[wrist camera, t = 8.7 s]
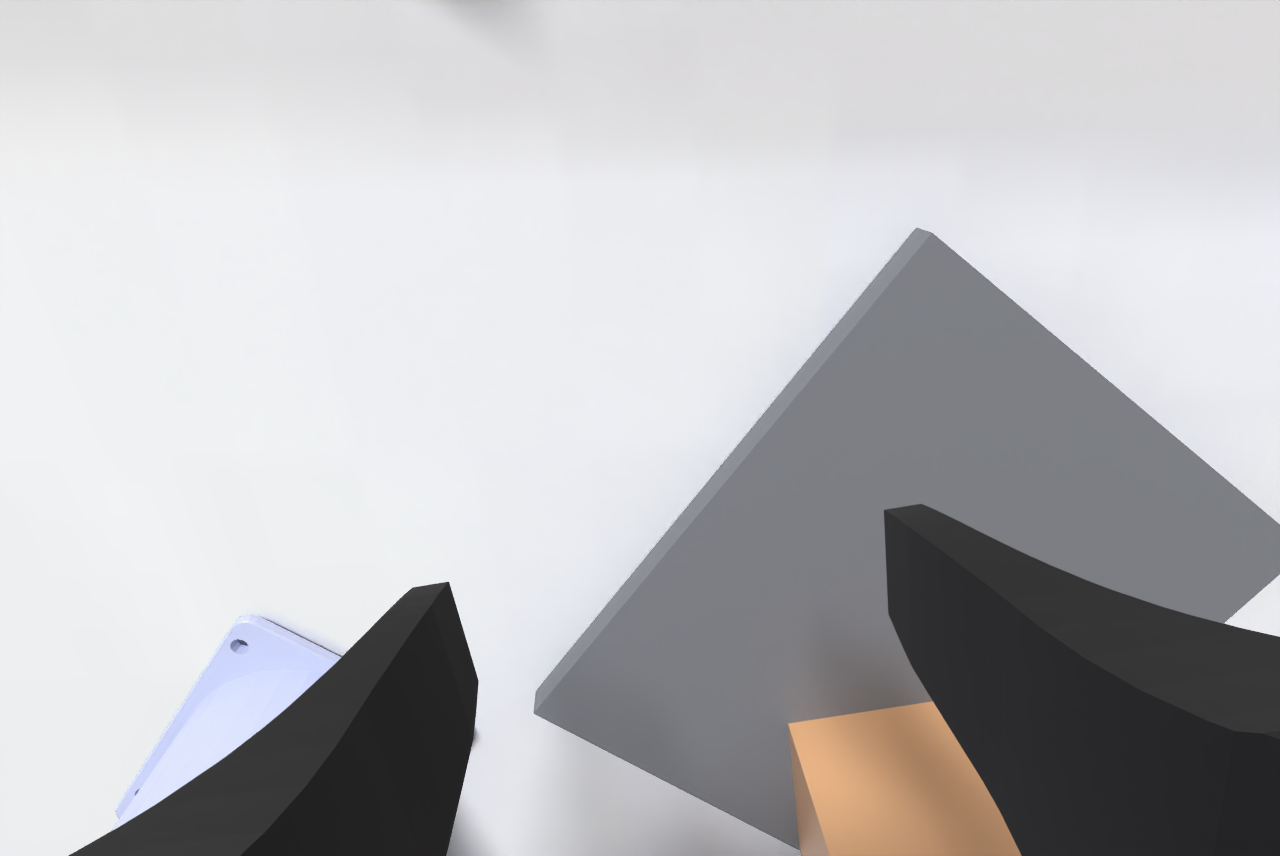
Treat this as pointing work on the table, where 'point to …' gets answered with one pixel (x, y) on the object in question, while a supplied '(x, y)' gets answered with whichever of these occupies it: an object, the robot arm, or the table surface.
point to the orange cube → (891, 788)
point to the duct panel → (855, 533)
